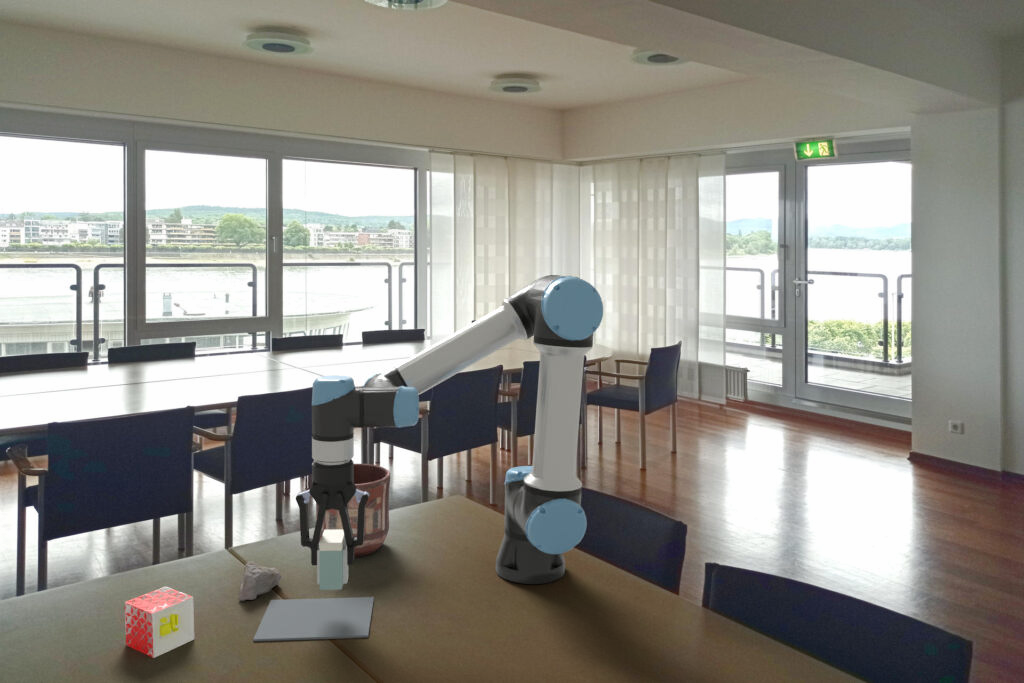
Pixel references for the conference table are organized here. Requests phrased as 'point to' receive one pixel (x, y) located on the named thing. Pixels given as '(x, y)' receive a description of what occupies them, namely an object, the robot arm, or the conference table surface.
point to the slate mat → (316, 619)
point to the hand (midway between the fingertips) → (332, 580)
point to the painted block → (331, 559)
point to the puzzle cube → (159, 621)
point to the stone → (257, 580)
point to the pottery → (375, 511)
